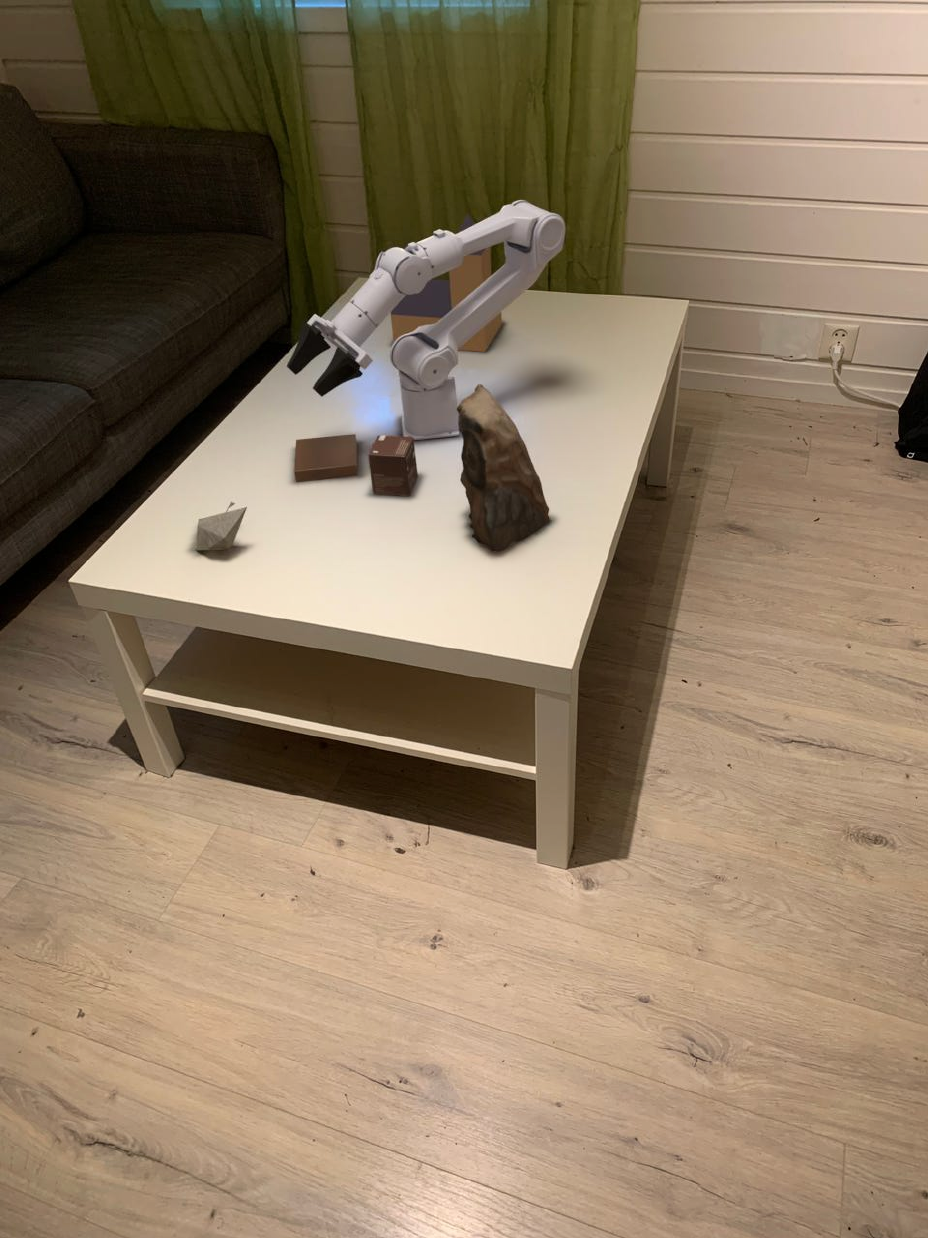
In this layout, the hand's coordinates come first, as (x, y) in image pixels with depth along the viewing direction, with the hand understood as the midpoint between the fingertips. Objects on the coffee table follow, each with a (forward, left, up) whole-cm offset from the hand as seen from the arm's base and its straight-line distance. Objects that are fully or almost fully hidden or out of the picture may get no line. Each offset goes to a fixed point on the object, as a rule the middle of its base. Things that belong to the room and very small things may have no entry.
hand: (303, 381), depth 155 cm
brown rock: (-28, +21, -16) cm, 39 cm away
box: (-12, +7, -16) cm, 21 cm away
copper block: (-1, -2, -16) cm, 16 cm away
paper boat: (+14, +18, -16) cm, 28 cm away
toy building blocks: (-25, -46, -16) cm, 55 cm away
